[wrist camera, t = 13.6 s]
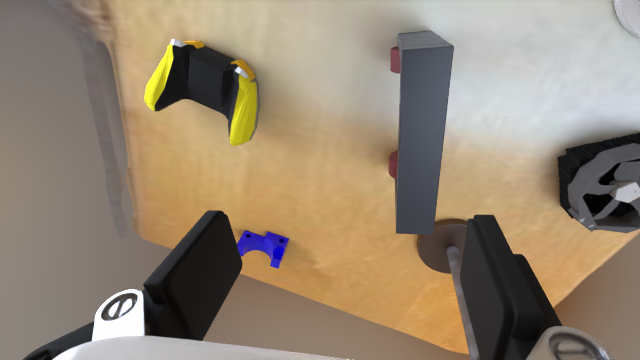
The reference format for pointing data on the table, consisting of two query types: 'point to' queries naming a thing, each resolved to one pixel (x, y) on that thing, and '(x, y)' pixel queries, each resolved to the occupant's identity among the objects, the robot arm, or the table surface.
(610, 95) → the table surface
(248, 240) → the cable holder
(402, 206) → the headset
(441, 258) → the stand
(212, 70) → the gaming controller
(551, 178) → the table surface
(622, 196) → the cpu cooler
